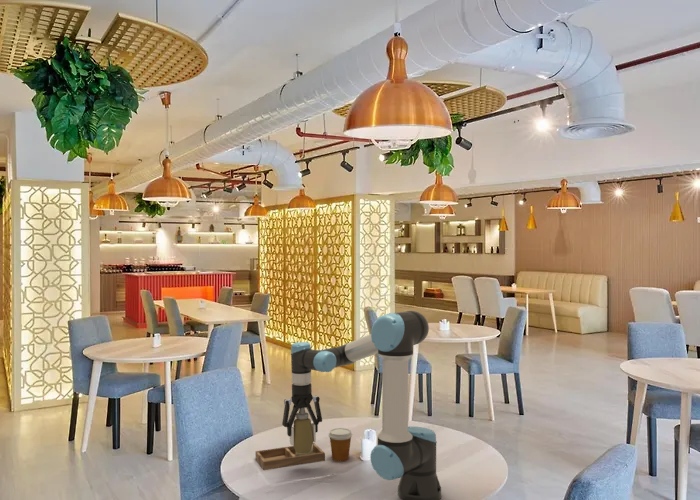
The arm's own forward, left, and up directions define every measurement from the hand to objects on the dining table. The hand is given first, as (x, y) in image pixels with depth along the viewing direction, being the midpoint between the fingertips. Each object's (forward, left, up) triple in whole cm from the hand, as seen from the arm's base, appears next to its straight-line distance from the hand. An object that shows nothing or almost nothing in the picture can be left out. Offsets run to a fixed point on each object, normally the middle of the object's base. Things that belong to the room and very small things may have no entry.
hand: (302, 442), depth 228 cm
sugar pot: (+13, -5, -11) cm, 17 cm away
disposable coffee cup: (+6, -18, -12) cm, 22 cm away
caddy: (+13, +1, -12) cm, 17 cm away
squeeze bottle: (0, 0, -4) cm, 4 cm away
